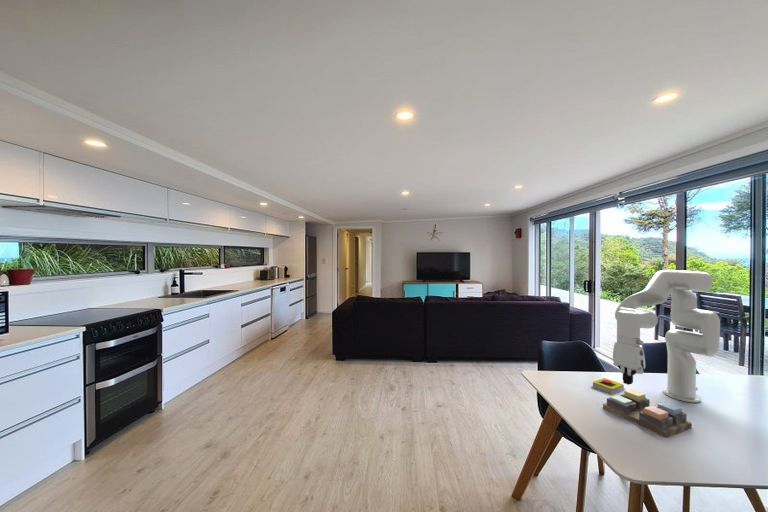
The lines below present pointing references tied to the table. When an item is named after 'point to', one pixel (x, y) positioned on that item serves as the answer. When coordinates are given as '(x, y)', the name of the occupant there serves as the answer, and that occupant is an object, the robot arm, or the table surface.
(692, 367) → the robot arm
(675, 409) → the slate button
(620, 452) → the table surface
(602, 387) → the emergency button
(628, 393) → the mustard button
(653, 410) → the terracotta button
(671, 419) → the console
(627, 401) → the sage button
